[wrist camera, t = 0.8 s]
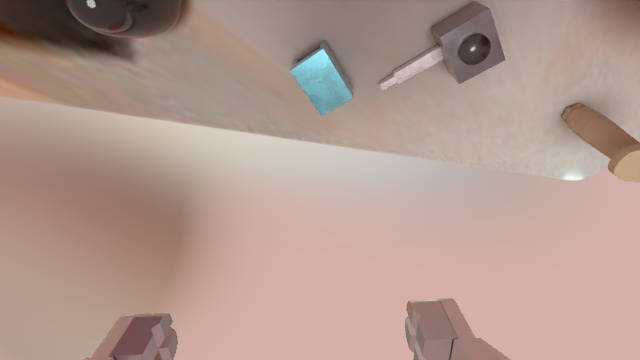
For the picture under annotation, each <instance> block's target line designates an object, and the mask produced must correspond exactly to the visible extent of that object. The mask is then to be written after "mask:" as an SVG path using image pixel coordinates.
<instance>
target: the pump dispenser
mask: <svg viewBox="0 0 640 360" xmlns="http://www.w3.org/2000/svg"><path fill="white" fill-rule="evenodd" d="M65 3H66V6H67V7H68V9H69V11H70V12H71V14H72V15H73V16H74V17H75V18H76V19H77V20H78V21H79V22H80V23H82V24H83V25H85V26H86V27H88V28H90V29H91V30H93V31H96V32H98V33H101V34H104V35H108V36H112V37H118V38H128V39H139V38H148V37H154V36H158V35H161V34H163V33H165V32H167V31H169V30H170V29H171V28H172V27H173V26H174V25H175V24H176V22H177V20H178V18H179V16H180V12H181V0H65Z"/></svg>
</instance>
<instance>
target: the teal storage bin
mask: <svg viewBox="0 0 640 360" xmlns="http://www.w3.org/2000/svg"><path fill="white" fill-rule="evenodd" d="M290 72H291V73H292V74H293V76H294V77H295V79H296V80H297V82H298V83H299V85H300V86H301V87H302V89H303V90H304V92H305V93H306V95H307V96H308V97H309V99H310V100H311V102H312V103H313V105H314V106H315V108H316V109H317V110H318V112H319V113H320V115H321V116H322V115H324V114H326V113H327V112H329V111H331V110H333V109H334V108H336V107H338V106H340V105H341V104H343V103H345V102H346V101H348V100H350V99H352V98H353V89H352V85H351V84H350V82H349V80H348V79H347V77H346V75H345V74H344V72H343V70H342V69H341V67H340V65H339V64H338V62H337V60H336V59H335V57H334V55H333V54H332V52H331V50H330V49H329V47H328V45H327V44H326V42H325V41H323V42H322V43H320V48H319V49H317V50H316V51H314V52H313V53H311V54H310V55H308V56H307V57H305V58H304V59H302V60H301V61H299V60H298V59H297V60H295V61H294V62H293V65H292V67H291V70H290Z"/></svg>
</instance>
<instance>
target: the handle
mask: <svg viewBox="0 0 640 360" xmlns="http://www.w3.org/2000/svg"><path fill="white" fill-rule="evenodd" d="M562 118H563V120H564V121H566V122H567V124H568V126H569V127H570V128H571V129H572V130H573V131H574V132H575V133H576V134H577V135H578V136H579V137H580V138H581V139H583V140H584V141H585V142H587V143H588V144H590V145H591V146H593V147H594V148H596V149H597V150H599V151H600V152H601V153H603V154H604V155H606V156H607V157H609V158H610V159H611V160H610V162H609V164H608V169H609V170H610V172H612V173H613V174H614V175H615V176H617V177H618V178H620V179H622V180H624V181H631V182H640V143H639V142H638V141H637V140H635V139H634V138H633V137H631V136H630V135H629V134H628V133H626V132H625V131H624V130H622V129H621V128H620V127H619V126H617V125H616V124H615V123H614V122H612V121H611V120H610V119H608V118H607V117H605V116H604V115H602V114H600V113H598V112H597V111H595V110H592V109H590V108H587V107H585V106H584V105H582V104H575V105H574V106H571V107H567V108H566V109H565V112H564V113H563V114H562Z"/></svg>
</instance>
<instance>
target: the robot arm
mask: <svg viewBox="0 0 640 360" xmlns="http://www.w3.org/2000/svg"><path fill="white" fill-rule="evenodd" d="M406 310H407V312H408V317H407V318H406V321H405V330H406V338H407V342H408V346H409V349H410V350H411V351H413V352H414V360H510V359H509V358H507V357H506V356H505V355H503V354H502V353H501V352H499V351H498V350H496V349H495V348H493V347H492V346H491V345H489V344H488V343H486V342H485V341H484V340H482V339H481V338H475V336H474V334H473V332H472V331H471V329H470V327H469V325H468V323H467V322H466V320H465V318H464V316H463V314H462V313H461V311H460V309H459V307H458V305H457V304H456V302H455V300H454V299H452V298H451V299H450V298H449V299H437V300H436V299H432V300H416V301H408V303H407V309H406ZM171 324H172V318H171V315H170V314H167V313H166V314H165V313H162V314H137V315H136V314H135V315H123V316H121V317H120V318H119V319H118V320H117V321H116V323H115V324H114V326H113V327H112V329H111V330H110V331H109V333H108V334H107V336H106V337H105V339H104V340H103V342H102V343H101V344H100V346H99V347H98V349H97V350H96V352H95V353H94V354H93V356H92V357H91V358H86V359H84V360H173V358H174V356H175V353H176V349H177V344H178V341H177V334H176V331H175V330H174V329H172V328H171V327H170V326H171Z"/></svg>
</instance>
